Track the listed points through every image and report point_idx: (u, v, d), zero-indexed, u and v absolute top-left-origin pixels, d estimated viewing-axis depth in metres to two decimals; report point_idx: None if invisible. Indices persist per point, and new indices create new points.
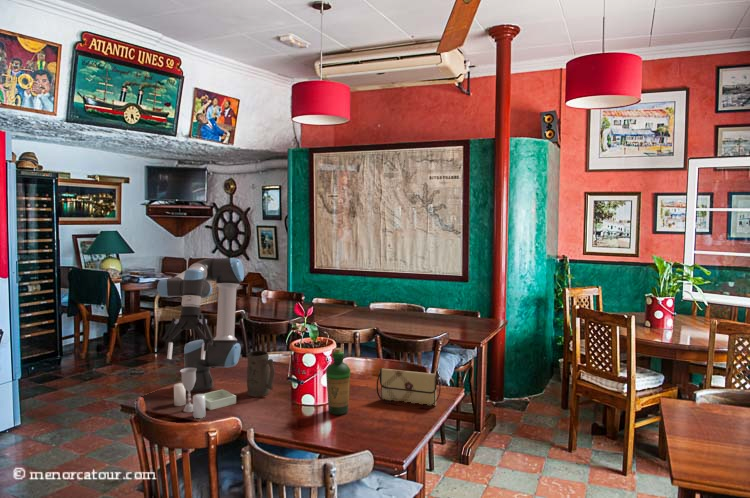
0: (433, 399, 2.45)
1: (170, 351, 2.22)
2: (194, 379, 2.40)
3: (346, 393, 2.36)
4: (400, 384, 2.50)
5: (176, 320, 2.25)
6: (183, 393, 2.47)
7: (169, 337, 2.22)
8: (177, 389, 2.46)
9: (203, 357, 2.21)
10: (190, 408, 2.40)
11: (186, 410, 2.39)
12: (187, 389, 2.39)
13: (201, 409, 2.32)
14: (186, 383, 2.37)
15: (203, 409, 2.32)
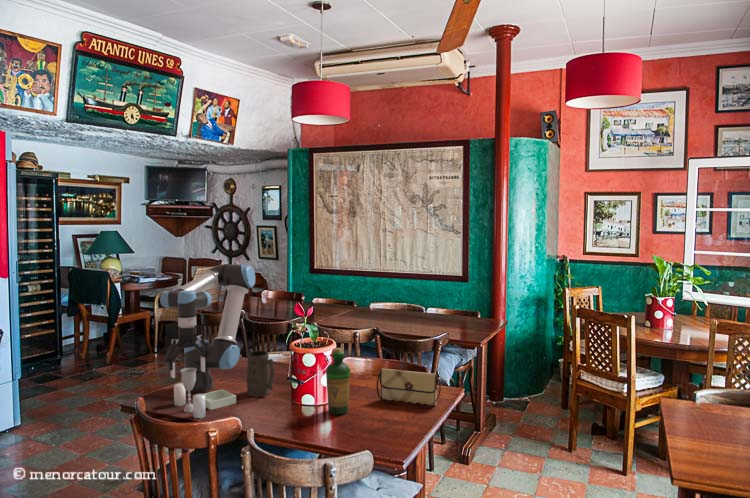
0: (433, 399, 2.45)
1: None
2: (194, 379, 2.40)
3: (346, 393, 2.36)
4: (400, 384, 2.50)
5: (176, 341, 2.35)
6: (183, 393, 2.47)
7: (172, 358, 2.34)
8: (177, 389, 2.46)
9: None
10: (190, 408, 2.40)
11: (186, 410, 2.39)
12: (187, 389, 2.39)
13: (201, 409, 2.32)
14: (186, 383, 2.37)
15: (203, 409, 2.32)
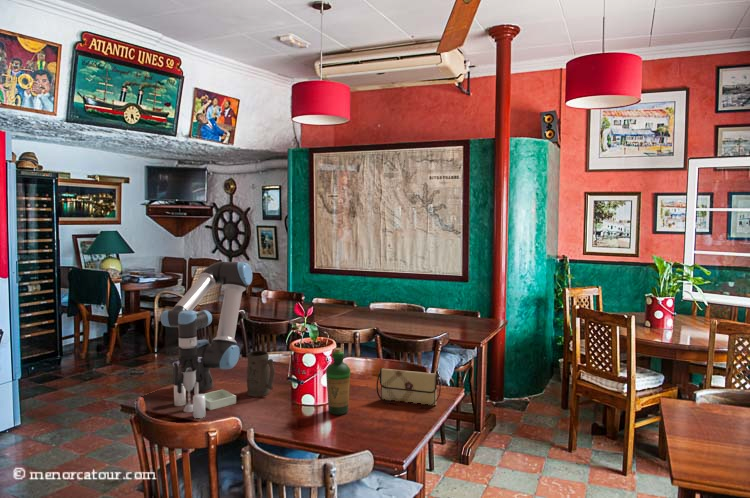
0: (433, 399, 2.45)
1: None
2: (194, 379, 2.40)
3: (346, 393, 2.36)
4: (400, 384, 2.50)
5: (177, 363, 2.36)
6: None
7: (180, 381, 2.37)
8: None
9: None
10: (190, 408, 2.40)
11: (186, 410, 2.39)
12: (187, 389, 2.39)
13: (201, 409, 2.32)
14: (186, 383, 2.37)
15: (203, 409, 2.32)
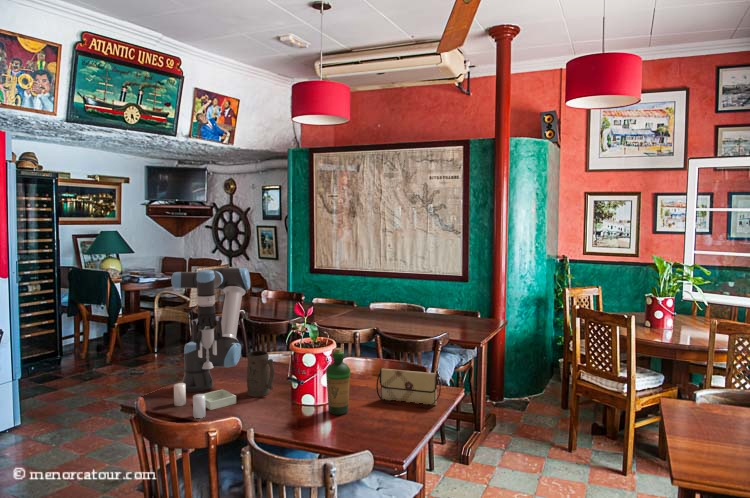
0: (433, 398, 2.46)
1: None
2: (212, 337, 2.44)
3: (346, 393, 2.36)
4: (400, 384, 2.50)
5: (196, 321, 2.41)
6: (183, 393, 2.47)
7: (198, 338, 2.42)
8: (177, 389, 2.46)
9: None
10: (208, 365, 2.45)
11: (204, 367, 2.44)
12: (205, 347, 2.44)
13: (201, 409, 2.32)
14: (204, 340, 2.42)
15: (203, 409, 2.32)
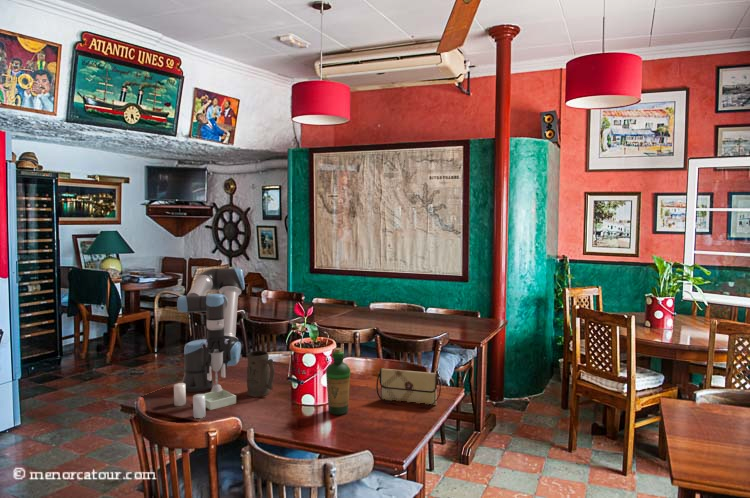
0: (433, 398, 2.46)
1: None
2: (221, 360, 2.48)
3: (346, 393, 2.36)
4: (400, 384, 2.50)
5: (205, 344, 2.44)
6: (183, 393, 2.47)
7: (208, 362, 2.45)
8: (177, 389, 2.46)
9: (224, 375, 2.51)
10: (217, 388, 2.48)
11: (214, 390, 2.47)
12: (215, 370, 2.47)
13: (201, 409, 2.32)
14: (214, 363, 2.46)
15: (203, 409, 2.32)
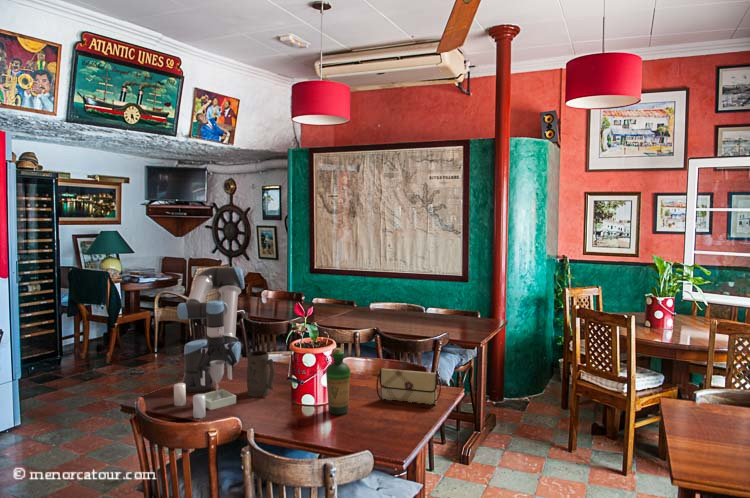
0: (433, 398, 2.46)
1: None
2: (222, 371, 2.49)
3: (346, 393, 2.36)
4: (400, 384, 2.50)
5: (205, 350, 2.44)
6: (183, 393, 2.47)
7: (202, 366, 2.43)
8: (177, 389, 2.46)
9: None
10: (218, 399, 2.48)
11: None
12: (215, 381, 2.48)
13: (201, 409, 2.32)
14: (215, 375, 2.46)
15: (203, 409, 2.32)
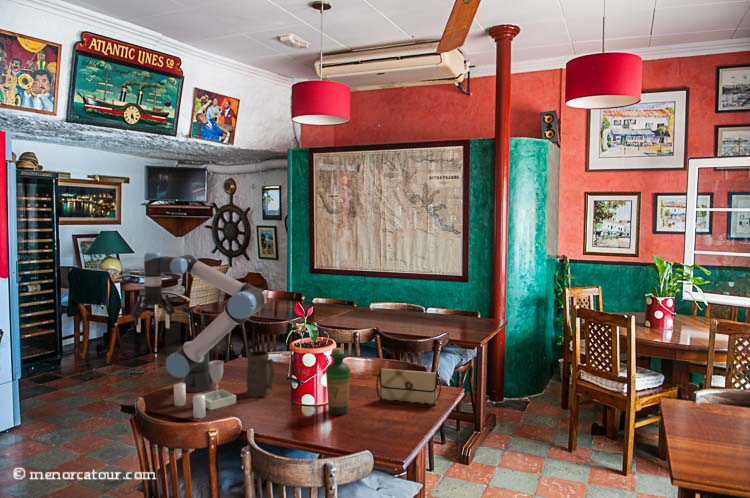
0: (433, 398, 2.47)
1: None
2: (222, 371, 2.48)
3: (346, 393, 2.36)
4: (400, 383, 2.50)
5: (142, 298, 2.54)
6: (183, 393, 2.47)
7: (138, 314, 2.52)
8: (177, 389, 2.46)
9: (168, 326, 2.63)
10: (218, 399, 2.48)
11: None
12: (215, 381, 2.47)
13: (201, 409, 2.32)
14: (214, 375, 2.46)
15: (203, 409, 2.32)
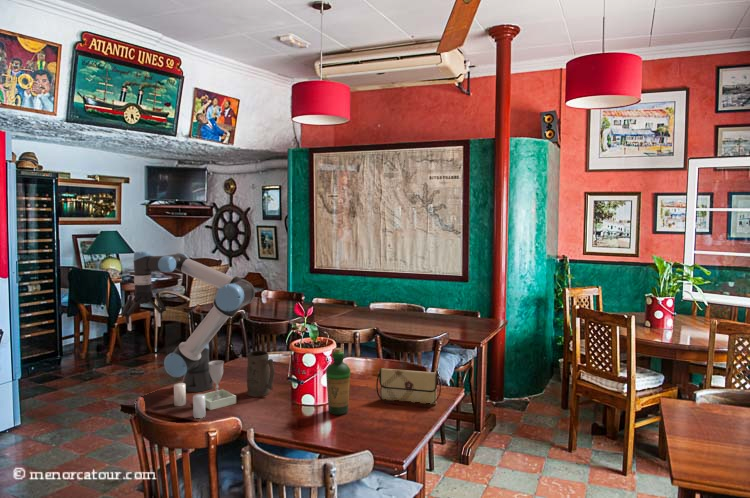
0: (433, 398, 2.47)
1: None
2: (222, 371, 2.48)
3: (346, 393, 2.36)
4: (400, 383, 2.50)
5: (132, 297, 2.56)
6: (183, 393, 2.47)
7: (129, 312, 2.54)
8: (177, 389, 2.46)
9: None
10: (218, 399, 2.48)
11: None
12: (215, 381, 2.47)
13: (201, 409, 2.32)
14: (214, 375, 2.46)
15: (203, 409, 2.32)
